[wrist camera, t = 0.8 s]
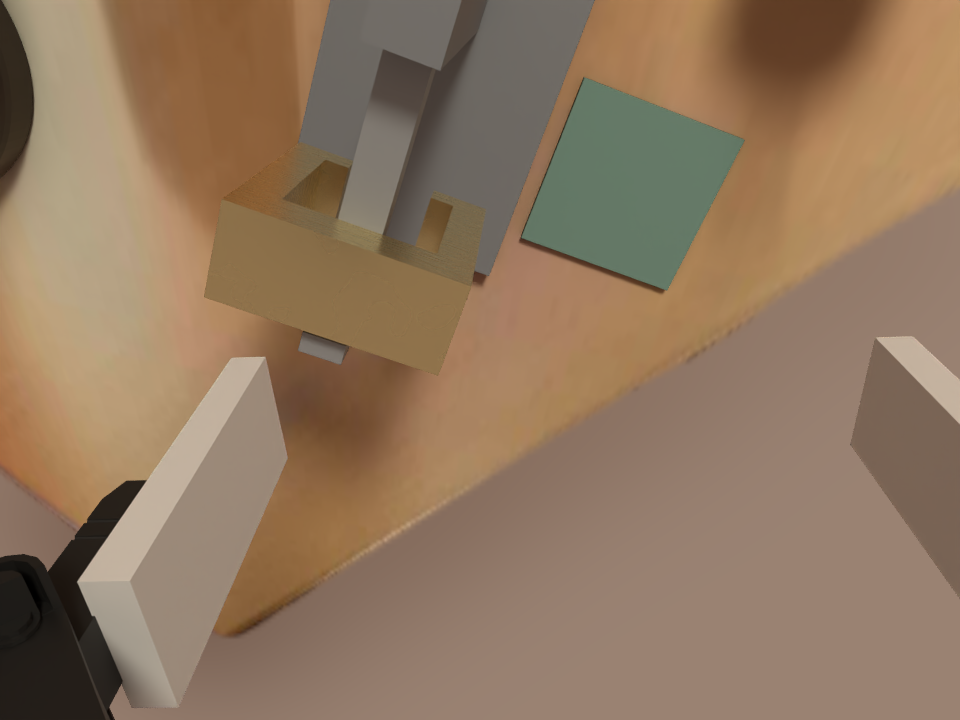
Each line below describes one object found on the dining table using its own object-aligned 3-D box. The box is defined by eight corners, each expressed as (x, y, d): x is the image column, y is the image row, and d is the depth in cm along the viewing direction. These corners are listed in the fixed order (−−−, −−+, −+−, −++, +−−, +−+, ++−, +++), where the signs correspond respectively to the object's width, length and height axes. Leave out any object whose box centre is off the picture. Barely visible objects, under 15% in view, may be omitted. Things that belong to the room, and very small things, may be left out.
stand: (290, 197, 41) (140, 337, 25) (363, -121, 34) (217, -204, 18) (490, 268, 43) (465, 443, 27) (601, -24, 35) (660, -23, 19)
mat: (521, 235, 42) (521, 237, 41) (583, 77, 37) (584, 78, 37) (666, 287, 42) (667, 290, 42) (742, 138, 38) (744, 140, 38)
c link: (283, 219, 33) (204, 297, 25) (300, 141, 31) (221, 199, 23) (459, 280, 34) (438, 375, 26) (486, 209, 32) (471, 286, 24)
